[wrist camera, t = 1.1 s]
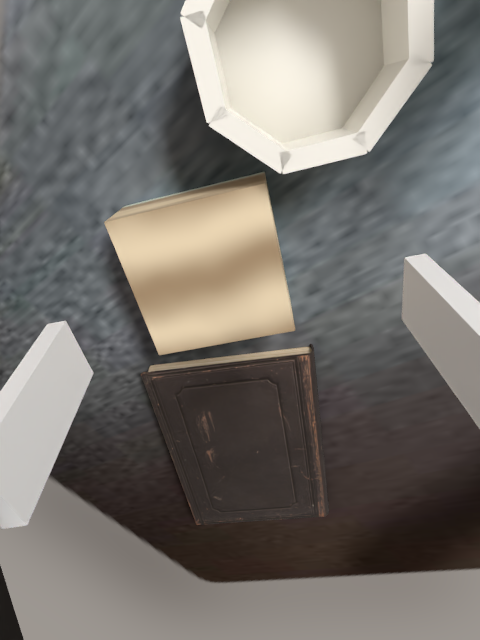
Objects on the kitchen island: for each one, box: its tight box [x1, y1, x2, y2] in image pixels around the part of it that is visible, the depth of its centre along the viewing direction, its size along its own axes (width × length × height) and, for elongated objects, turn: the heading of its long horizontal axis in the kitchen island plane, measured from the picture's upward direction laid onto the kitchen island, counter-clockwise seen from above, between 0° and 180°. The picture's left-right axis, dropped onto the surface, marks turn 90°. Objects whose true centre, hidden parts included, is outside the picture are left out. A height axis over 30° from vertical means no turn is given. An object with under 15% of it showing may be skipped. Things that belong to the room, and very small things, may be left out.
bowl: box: [180, 0, 434, 174], centre depth 22 cm, size 12×12×6 cm
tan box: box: [104, 173, 295, 355], centre depth 29 cm, size 11×11×4 cm
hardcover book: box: [141, 344, 329, 525], centre depth 41 cm, size 16×23×2 cm
